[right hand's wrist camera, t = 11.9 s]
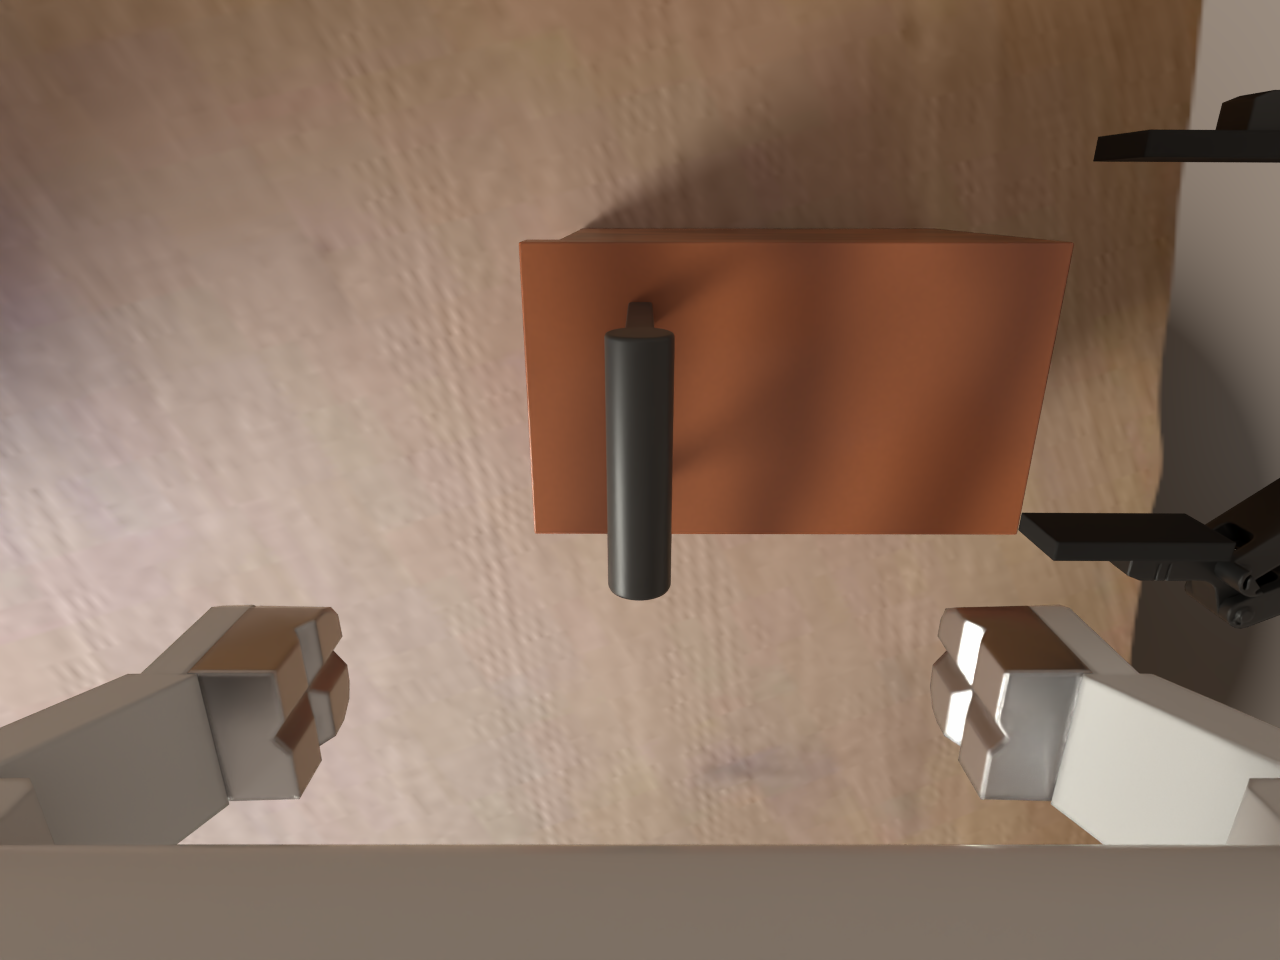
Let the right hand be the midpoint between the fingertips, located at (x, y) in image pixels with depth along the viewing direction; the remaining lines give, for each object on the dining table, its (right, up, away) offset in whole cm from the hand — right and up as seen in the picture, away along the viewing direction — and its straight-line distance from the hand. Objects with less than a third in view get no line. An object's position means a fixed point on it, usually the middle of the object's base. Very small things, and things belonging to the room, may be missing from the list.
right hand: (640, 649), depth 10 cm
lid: (+4, +5, +14) cm, 15 cm away
